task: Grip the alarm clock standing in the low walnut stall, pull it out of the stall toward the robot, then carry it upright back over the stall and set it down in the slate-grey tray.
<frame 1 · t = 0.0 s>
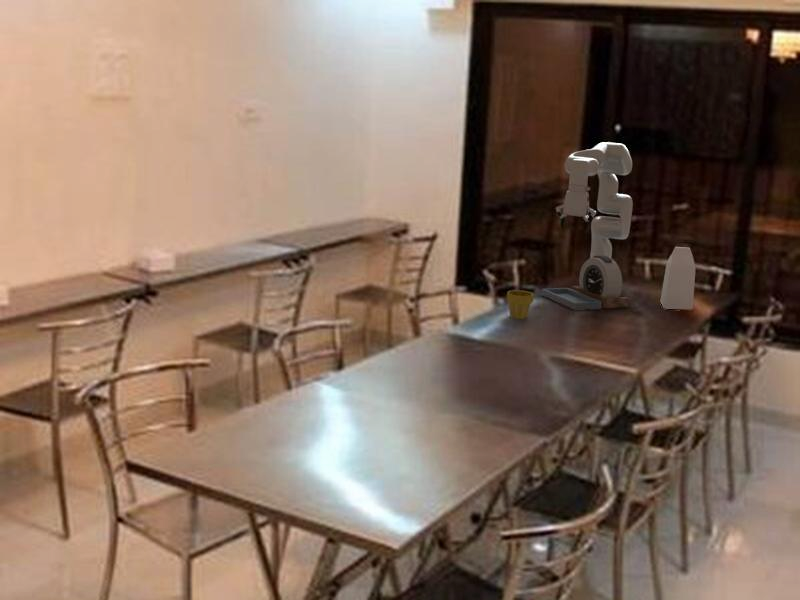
hand: (574, 229, 450), 31 cm above the table, tool pointing down, fingers open, 9 cm apart
walnut stall: (598, 300, 461), on the table
plant pot: (518, 317, 425), on the table
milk: (676, 307, 457), on the table
alarm clock: (598, 301, 461), on the table
slate tray: (570, 302, 456), on the table
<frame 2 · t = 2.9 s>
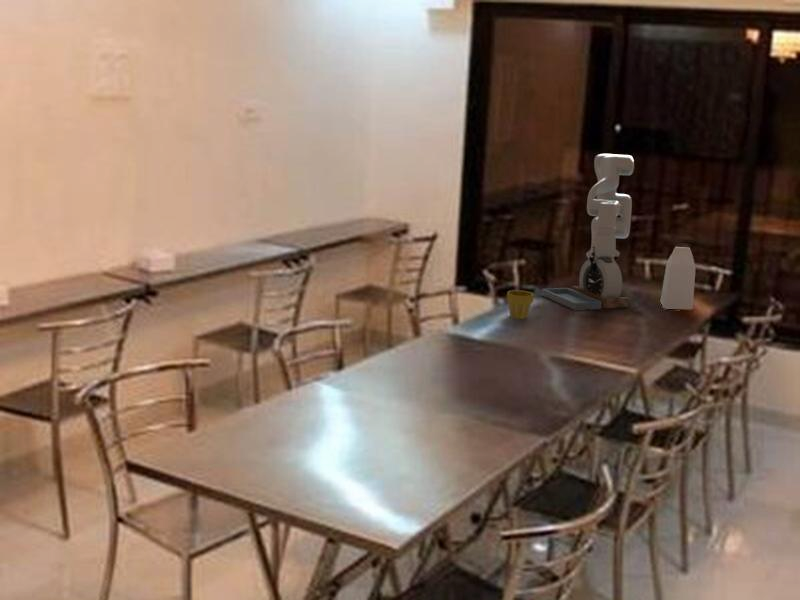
hand: (601, 271, 458), 13 cm above the table, tool pointing down, fingers closed on alarm clock, 7 cm apart
alarm clock: (598, 301, 461), on the table, touching gripper
everything else where it was.
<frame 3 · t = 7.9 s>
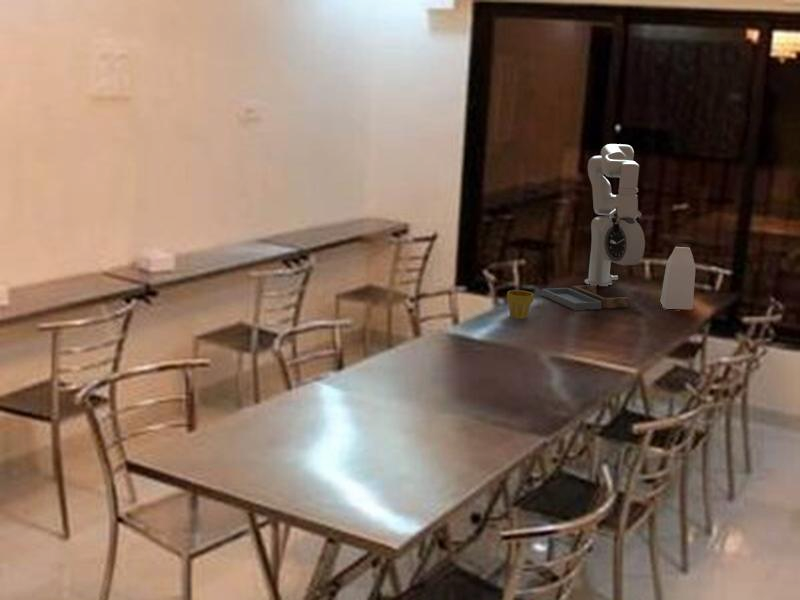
hand: (623, 232, 458), 30 cm above the table, tool pointing down, fingers closed on alarm clock, 7 cm apart
alarm clock: (620, 262, 461), point 17 cm above the table, touching gripper
everything else where it was.
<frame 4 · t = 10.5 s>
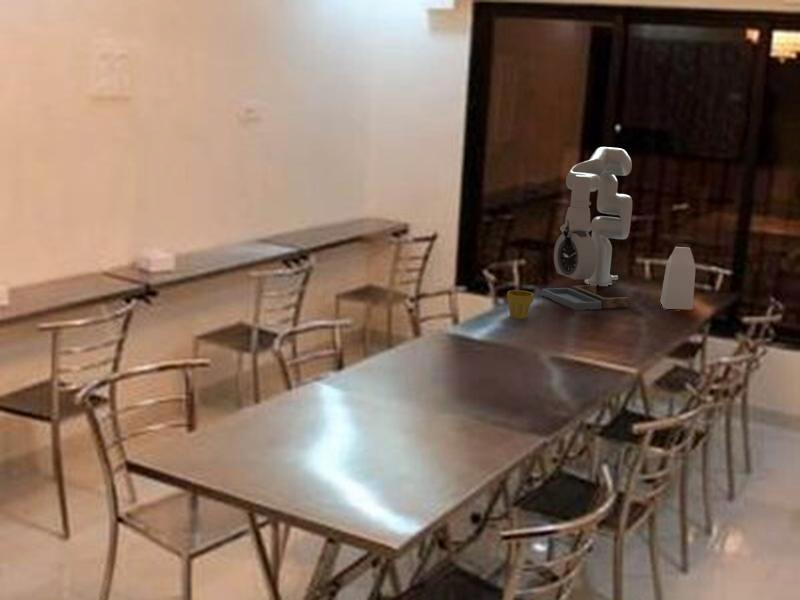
hand: (575, 245, 450), 24 cm above the table, tool pointing down, fingers closed on alarm clock, 7 cm apart
alarm clock: (573, 276, 453), point 11 cm above the table, touching gripper
everything else where it was.
when the fingers open (15 cm above the table, at t = 12.8 s): alarm clock stays where it is, resting on slate tray.
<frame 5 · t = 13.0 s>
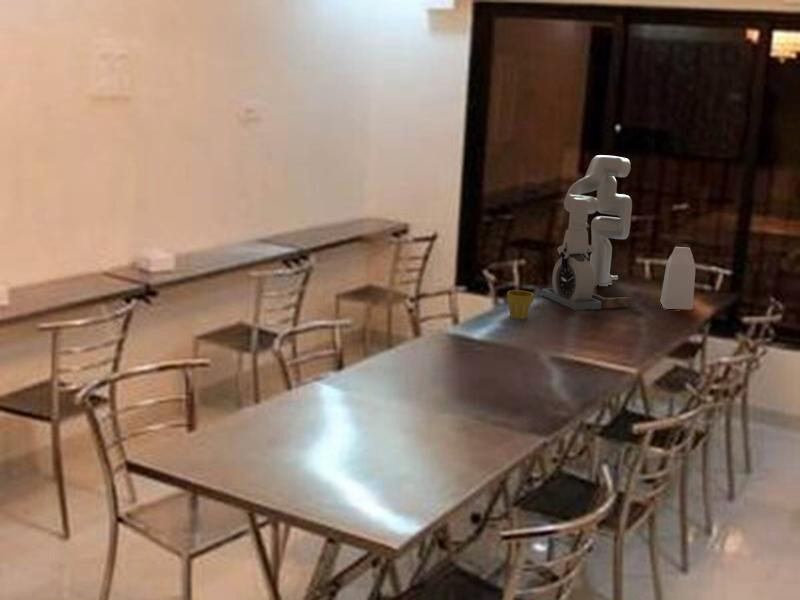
hand: (574, 267, 452), 15 cm above the table, tool pointing down, fingers open, 9 cm apart
alarm clock: (571, 300, 456), point 1 cm above the table, touching slate tray
everything else where it was.
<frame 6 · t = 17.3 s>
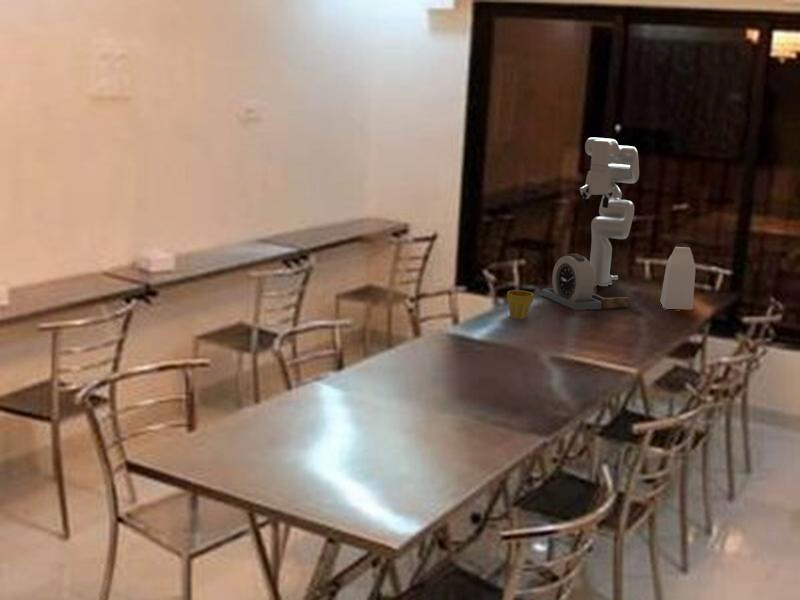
hand: (595, 207, 467), 38 cm above the table, tool pointing down, fingers open, 9 cm apart
nothing on the table moved.
at the end: alarm clock inside the target area on the slate tray (0.3 cm from its centre), point 0.8 cm above the slate tray's base; alarm clock tilted 0°; the gripper is holding nothing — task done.
